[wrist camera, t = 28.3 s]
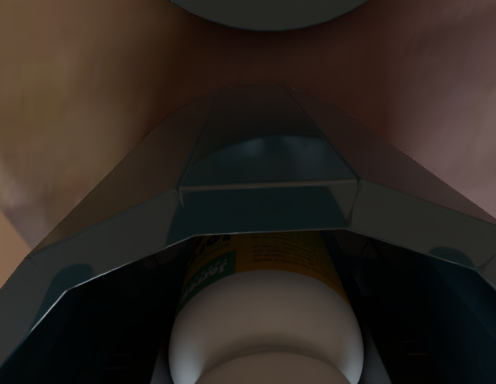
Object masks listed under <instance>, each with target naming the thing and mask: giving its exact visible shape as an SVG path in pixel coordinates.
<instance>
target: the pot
mask: <svg viewBox="0 0 496 384" xmlns="http://www.w3.org/2000/svg"><path fill="white" fill-rule="evenodd" d="M317 230H319V232H320V234H321V236H322V238H323V241H324V243H325V245H326V247H327V250H328V252H329V255H330V257H331V260H332V262H333V264H334V267H335V269H336V271H337V274H338V276H339V279H340V281H341V283H342V286H343V288H344V290H345V293H346V295H347V297H348V300H349V302H351V298H352V297H365V296H378V297H379V299H380V300H381V302H382V304H383V306H384V308H385V310H386V312H387V313H399V314H400V315H401V316H402V317H403V318H405V319H406V320H407V321H408V322H409V323H410V324H412V325H413V327H414V329H415V330H416V332H417V334H418V335H419V337H420V339H421V341H422V343H423V344H424V345H425V347H426V349H427V351H428V352H429V356H431V357H432V359H433V361H434V362H435V364H436V366H437V368H438V369H439V371H440V373H441V374H442V376H443V378H444V379H445V381H446V383H447V384H496V219H495V218H494V217H493V216H491V215H490V214H488V213H487V212H486V211H484V210H483V209H481V208H480V207H479V206H477V205H476V204H474V203H473V202H472V201H470V200H469V199H467V198H466V197H465V196H463V195H462V194H460V193H459V192H458V191H456V190H455V189H454V188H452V187H451V186H449V185H448V184H447V183H445V182H444V181H442V180H441V179H440V178H438V177H437V176H435V175H434V174H433V173H431V172H430V171H428V170H427V169H426V168H424V167H423V166H421V165H420V164H419V163H417V162H416V161H414V160H413V159H412V158H410V157H409V156H407V155H406V154H405V153H403V152H402V151H401V150H399V149H398V148H396V147H395V146H394V145H392V144H391V143H389V142H388V141H387V140H385V139H384V138H382V137H381V136H380V135H378V134H377V133H375V132H374V131H373V130H371V129H370V128H368V127H367V126H366V125H364V124H363V123H361V122H360V121H359V120H357V119H356V118H354V117H353V116H352V115H350V114H349V113H347V112H346V111H345V110H343V109H342V108H341V107H339V106H337V105H336V104H333V103H331V102H328V101H325V100H323V99H320V98H318V97H316V96H313V95H311V94H309V93H306V92H303V91H299V90H296V89H293V88H291V87H288V86H285V85H280V84H279V85H255V84H251V85H243V86H234V87H223V88H219V89H217V90H215V91H213V92H211V93H209V94H207V95H204V96H202V97H199V98H197V99H195V100H193V101H191V102H190V103H188V104H186V105H185V106H183V107H181V108H179V109H177V110H175V111H173V112H171V113H169V114H168V115H167V116H166V117H165V118H164V119H163V120H162V121H161V122H160V123H159V124H158V125H157V126H156V127H155V128H154V129H153V130H152V131H151V132H150V133H149V134H148V135H147V136H146V137H145V138H144V139H143V140H142V141H141V142H140V143H139V144H138V145H137V146H136V147H135V148H134V149H133V150H132V151H131V152H130V153H129V154H128V155H127V156H126V157H125V158H124V159H123V160H122V161H121V162H120V163H119V164H118V165H117V166H116V167H115V168H114V169H113V170H112V171H111V172H110V173H109V174H108V175H107V176H106V177H105V178H104V179H103V180H102V181H101V182H100V183H99V184H98V185H97V186H96V187H95V188H94V189H93V190H92V191H91V192H90V193H89V194H88V195H87V196H86V197H85V198H84V199H83V200H82V201H81V202H80V203H79V204H78V205H77V206H76V207H75V208H74V209H73V210H72V211H71V212H70V213H69V214H68V215H67V216H66V217H65V218H64V219H63V220H62V221H61V222H60V223H59V224H58V225H57V226H56V227H55V228H54V229H53V230H52V231H51V232H50V233H49V234H48V235H47V236H46V237H45V238H44V239H43V240H42V241H41V242H40V243H39V244H38V245H37V246H36V247H35V248H34V249H33V250H32V251H31V252H30V253H29V254H28V255H27V256H26V257H25V258H24V260H23V261H22V262H21V264H20V265H19V266H18V267H17V269H16V270H15V271H14V272H13V274H12V275H11V276H10V277H9V279H8V280H7V281H6V283H5V284H4V285H3V286H2V288H1V289H0V384H99V382H100V380H101V377H102V375H103V372H104V371H105V369H106V368H105V367H106V365H107V363H108V360H109V358H111V353H112V351H113V348H114V346H115V343H116V341H117V339H118V338H119V337H120V335H121V334H122V333H123V332H124V331H125V330H126V329H127V328H128V327H129V326H130V325H141V323H142V321H143V318H144V315H145V312H146V309H147V308H148V307H149V306H169V305H173V306H174V309H175V314H176V309H177V306H178V302H179V298H180V294H181V290H182V286H183V281H184V277H185V273H186V268H187V264H188V261H189V256H190V252H191V248H192V244H193V240H194V236H214V235H234V234H255V233H276V232H297V231H317ZM358 384H360V383H359V381H358Z"/></svg>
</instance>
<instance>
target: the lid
mask: <svg viewBox="0 0 496 384" xmlns="http://www.w3.org/2000/svg"><path fill="white" fill-rule="evenodd" d="M170 1H171V2H173V3H174V4H176V5H177V6H179V7H181V8H182V9H184V10H186V11H188V12H190V13H192V14H194V15H196V16H198V17H200V18H203V19H205V20H207V21H209V22H213V23H216V24H219V25H222V26H225V27H229V28H233V29H239V30H245V31H251V32H283V31H291V30H299V29H304V28H307V27H311V26H315V25H318V24H322V23H325V22H328V21H330V20H333V19H335V18H337V17H340V16H342V15H344V14H347V13H349V12H350V11H352V10H354V9H356V8H357V7H359V6H361V5H362V4H364V3H366V2H368V1H369V0H170Z"/></svg>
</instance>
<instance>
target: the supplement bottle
mask: <svg viewBox="0 0 496 384" xmlns="http://www.w3.org/2000/svg"><path fill="white" fill-rule="evenodd" d="M168 359H169V368H170V373H171V377H172V380H173V383H174V384H358V381H359V379H360V376H361V372H362V368H363V362H364V345H363V338H362V333H361V330H360V327H359V324H358V321H357V318H356V316H355V314H354V311H353V309H352V307H351V304H350V302H349V300H348V297H347V295H346V293H345V290H344V288H343V286H342V283H341V281H340V279H339V276H338V274H337V271H336V269H335V267H334V264H333V262H332V260H331V257H330V255H329V252H328V250H327V247H326V245H325V243H324V241H323V238H322V236H321V234H320V232H319V230H317V231H297V232H276V233H255V234H234V235H214V236H194V240H193V244H192V248H191V252H190V256H189V261H188V264H187V268H186V273H185V277H184V281H183V286H182V290H181V294H180V298H179V302H178V306H177V309H176V314H175V318H174V323H173V327H172V331H171V335H170V341H169V349H168Z"/></svg>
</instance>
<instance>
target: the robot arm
mask: <svg viewBox="0 0 496 384" xmlns="http://www.w3.org/2000/svg"><path fill="white" fill-rule="evenodd" d="M350 304H351V307H352V309H353V311H354V314H355V316H356V318H357V321H358V324H359V327H360V330H361V333H362V338H363V345H364V362H363V368H362V372H361V376H360V379H359V383H360V384H447V383H446V381H445V379H444V378H443V376H442V374H441V373H440V371H439V369H438V368H437V366H436V364H435V362H434V361H433V359H432V357H431V356H429V352H428V351H427V349H426V347H425V345H424V344H423V343H422V341H421V339H420V337H419V335H418V334H417V332H416V330H415V329H414V327H413V325H412V324H410V323H409V322H408V321H407V320H406V319H405V318H403V317H402V316H401V315H400V314H399V313H387V312H386V310H385V308H384V306H383V304H382V302H381V300H380V299H379V297H378V296H365V297H352V298H351V302H350ZM174 318H175V309H174V306H173V305H169V306H149V307H148V308H147V309H146V312H145V315H144V318H143V321H142V323H141V325H130V326H129V327H128V328H127V329H126V330H125V331H124V332H123V333H122V334H121V335H120V337H119V338H118V339H117V341H116V343H115V346H114V348H113V351H112V353H111V358H109V360H108V363H107V365H106V367H105V368H106V369H105V371H104V372H103V375H102V377H101V380H100V382H99V384H174V383H173V380H172V377H171V373H170V368H169V359H168V349H169V341H170V335H171V331H172V327H173V323H174Z"/></svg>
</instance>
